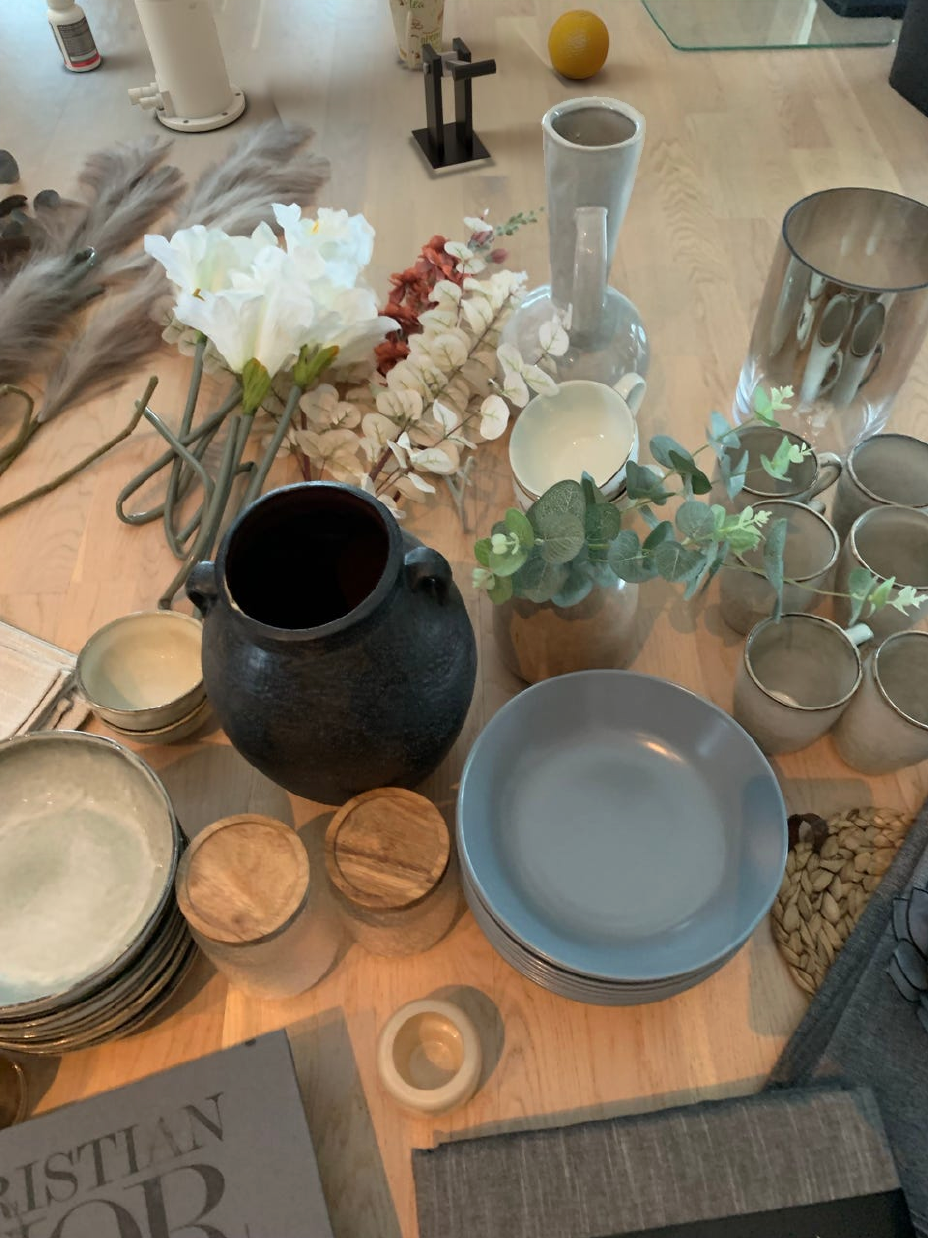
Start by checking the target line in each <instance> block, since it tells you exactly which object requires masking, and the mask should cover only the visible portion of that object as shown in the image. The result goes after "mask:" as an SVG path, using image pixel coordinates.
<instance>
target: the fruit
mask: <svg viewBox="0 0 928 1238" xmlns="http://www.w3.org/2000/svg"><path fill="white" fill-rule="evenodd" d="M548 35H549V36H548V39H547V47H548V48H547V49H548V55H549V59H550V62H551V65H552V68H554V70H555V71H556V72H557V73H558V74H560V75H561V76H563V77H565V78H568V79H572V80H584V79H588V78H590V77H592V76H594V75H595V74H597V73H598V72H599V71H600V70H601V69H602V68H603V66H604V65H605V63H606V61H607V58H608V55H609V51H610V50H609V49H610V33H609V30H608V27H607V26H606V24H605V22H604V21H603V20H602V19H601V17H599V16H598V15H597V14H595V13H594V12H591V11H589V10H586V9H574V10H569V11H567V12H564V13H563V14H562V15H561V16H559V18H557V19H556V20H555V22H554V24H553V25H552V27H551V28H550V32H549V34H548Z"/></svg>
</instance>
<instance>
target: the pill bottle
mask: <svg viewBox="0 0 928 1238" xmlns="http://www.w3.org/2000/svg"><path fill="white" fill-rule="evenodd" d="M45 2H46V5H47V7H49V8H48V10H47V12H46V18H47V21H48V24H49V26H50V30H51V32H52V34H53V37H54V39H55V42H56V45H57V47H58V49H59V52H60V55H61V57H62V60H63V62H64V65H65V67H66V68H67V69H68V70H69V71H71V72H78V73H79V72H88V71H90V70H93V69H95V68H97V67H98V66H99V65H100V63H101V56H100V53H99V50H98V47H97V45H96V41H95V39H94V36H93V33H92V31H91V28H90V25H89V22H88V19H87V16H86V13H85V11H84V9H83V7H82V6H81V5H80V4H78V3H75V2H76V0H45Z"/></svg>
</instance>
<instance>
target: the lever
mask: <svg viewBox="0 0 928 1238" xmlns="http://www.w3.org/2000/svg"><path fill="white" fill-rule="evenodd" d="M437 55H438V56H439V58H440V63H441V78H448V77H451V78H452V80H453V82H454V81H460V80H465V79H470V78H472V79H475V78H480V77H485V76H489V75H495V74H496V73H497V62H496V60H495V59H494V58H490V59H485V60H479V61H475V62H471V63H468V62H464V61H459V60H458V54H457V52H455V51H453V50H447V51H446V50H445V51H441V53H437Z"/></svg>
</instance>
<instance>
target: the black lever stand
mask: <svg viewBox="0 0 928 1238" xmlns="http://www.w3.org/2000/svg"><path fill="white" fill-rule="evenodd" d="M422 51H423V63H422V70H423V81H424V98H425V113H426V127H424V128H418V129H414V130H410V132H411V134H412V136H413V137H414V139H415V141H416V142H417V144H418V146H419V147H420V149H421V151H422V152H423V154H424V156H425V158H426V159H427V161H428V162H429V165H430V166H431V167H432V169H433V170H436V169H441V168H445V167H450V166H454V165H459V164H464V163H469V162H473V161H478V160H483V159H488V158H491V157H492V155H491V154H490V152H489V151H488V149H487V148H486V147H485V145H484V144H483V142H482V141H481V140H480V138H479V136H478V134H477V133H476V132H475V130H474V129H473V127H474V126H473V125H474V123H473V121H474V119H473V78H470V79H465V80H460V81H454V80H453V91H454V93H453V94H454V116H455V117H454V118H455V119H454V120H455V121H452V122H448V123H444V109H443V108H444V107H443V89H442V86H443V85H442V77H441V63H440V58H439V56H438V55H437V53H436V52H435V50H434V49H433V48H432V46H431V45H430V43H427V44H422ZM452 51H455V52H457V54H458V60H459V61H464V62H468V63H472V51H471V50H470V49H469V47H468V46H467V45H466V43H465V42H464V41H463V39H462V37H460V36H459V37H453V38H452Z"/></svg>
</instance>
